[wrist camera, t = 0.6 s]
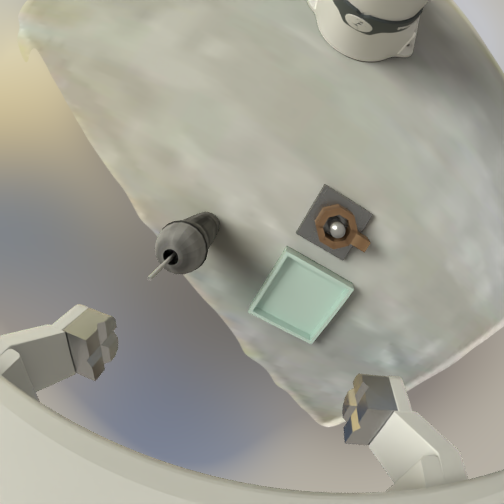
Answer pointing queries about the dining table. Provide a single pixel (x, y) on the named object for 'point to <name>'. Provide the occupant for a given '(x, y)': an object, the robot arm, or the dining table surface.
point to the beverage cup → (185, 243)
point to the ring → (350, 233)
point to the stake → (332, 220)
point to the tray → (300, 296)
